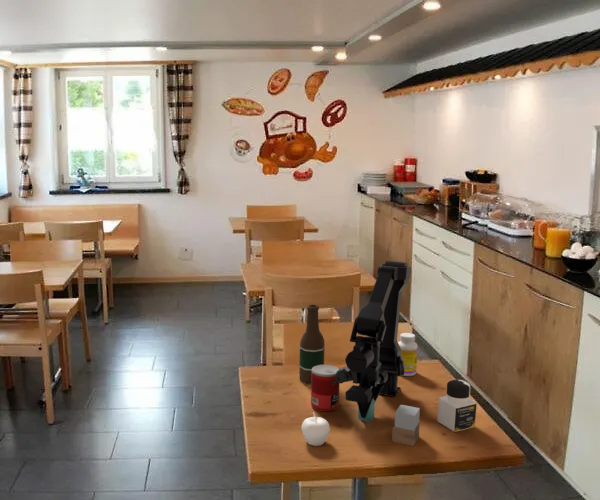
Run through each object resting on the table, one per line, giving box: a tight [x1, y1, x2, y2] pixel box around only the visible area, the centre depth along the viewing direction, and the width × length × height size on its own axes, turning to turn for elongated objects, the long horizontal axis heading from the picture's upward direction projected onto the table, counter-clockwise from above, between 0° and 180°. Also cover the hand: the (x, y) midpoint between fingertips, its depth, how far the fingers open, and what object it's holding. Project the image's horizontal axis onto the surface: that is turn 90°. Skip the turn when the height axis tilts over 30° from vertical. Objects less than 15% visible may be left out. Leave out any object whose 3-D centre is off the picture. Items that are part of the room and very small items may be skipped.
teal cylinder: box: [357, 399, 376, 423], centre depth 177 cm, size 4×4×5 cm
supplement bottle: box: [397, 332, 419, 377], centre depth 209 cm, size 7×7×13 cm
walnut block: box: [391, 422, 421, 447], centre depth 165 cm, size 6×6×4 cm
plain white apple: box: [301, 411, 331, 447], centre depth 162 cm, size 7×7×8 cm
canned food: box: [310, 364, 341, 412], centre depth 183 cm, size 8×8×11 cm
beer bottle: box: [298, 304, 326, 385], centre depth 201 cm, size 8×8×24 cm
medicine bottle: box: [437, 379, 477, 433], centre depth 173 cm, size 7×7×12 cm
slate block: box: [394, 404, 421, 431], centre depth 164 cm, size 5×5×4 cm
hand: (366, 414), depth 177 cm, fingers closed on teal cylinder, 4 cm apart
